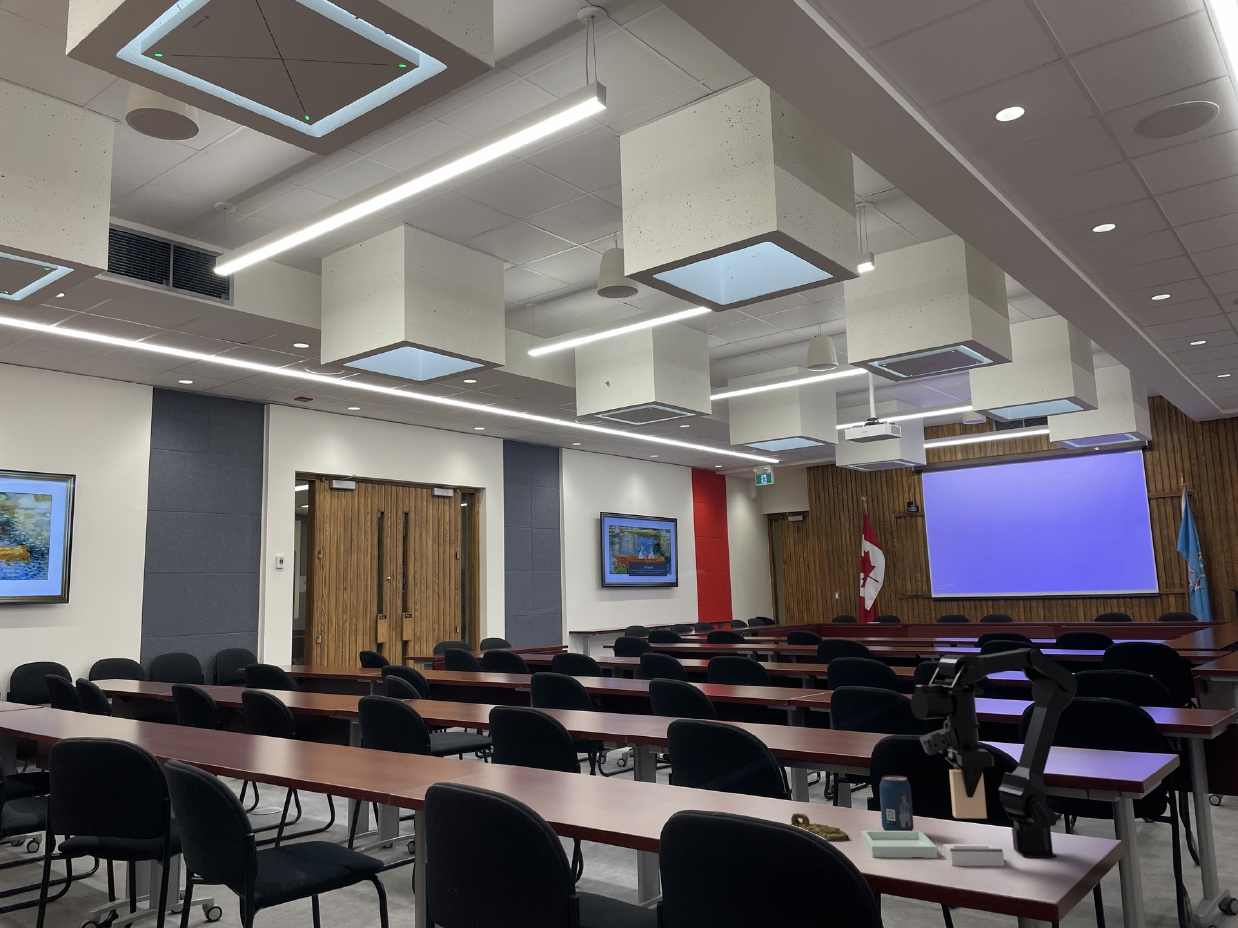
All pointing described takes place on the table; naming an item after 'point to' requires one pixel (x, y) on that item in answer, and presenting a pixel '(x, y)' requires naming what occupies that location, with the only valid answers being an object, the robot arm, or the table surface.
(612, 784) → the table surface
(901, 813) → the soda can
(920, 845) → the tray
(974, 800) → the tan cardboard block
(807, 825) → the seal
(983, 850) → the dispenser
